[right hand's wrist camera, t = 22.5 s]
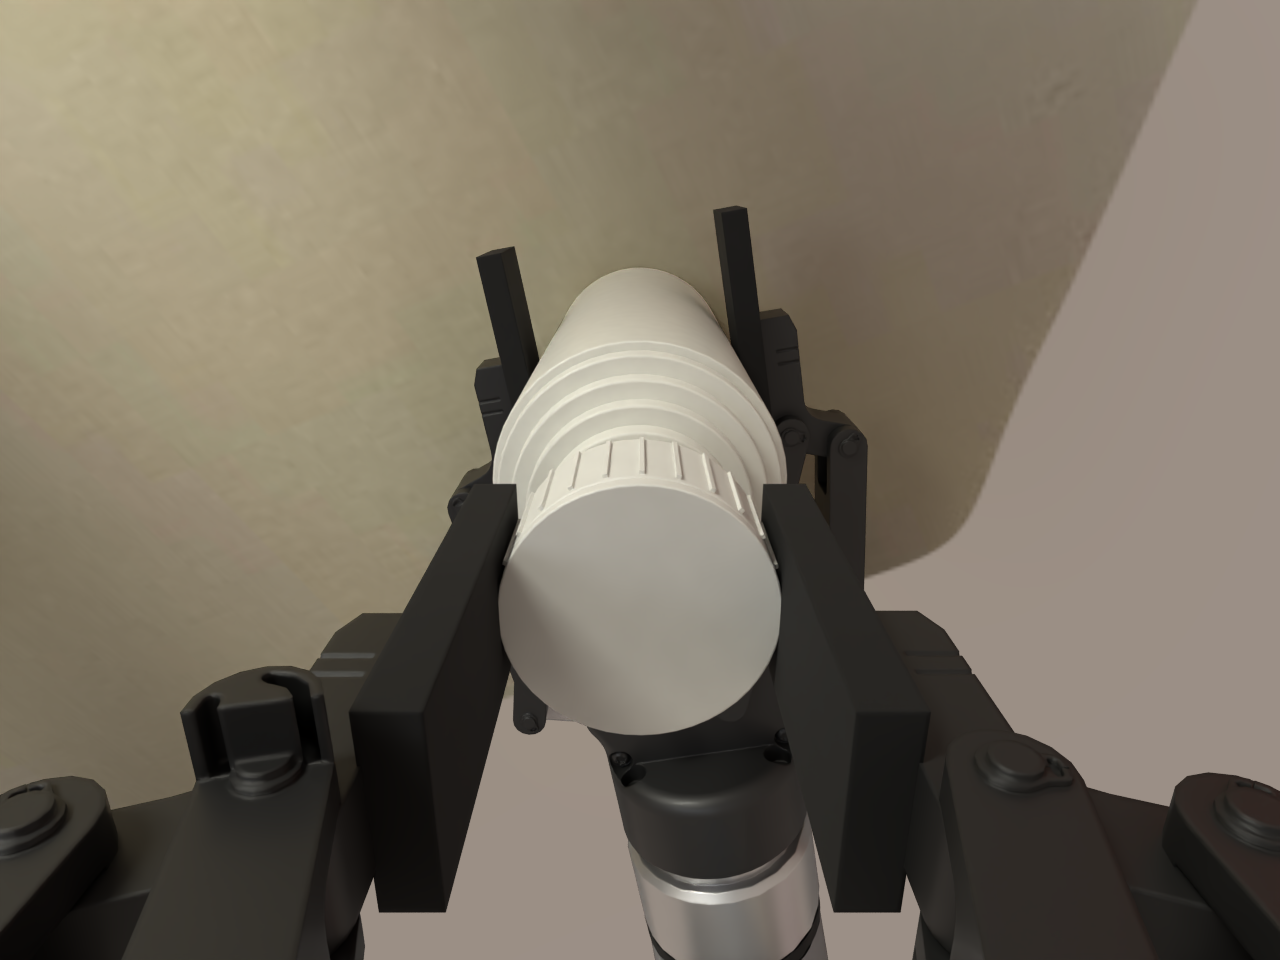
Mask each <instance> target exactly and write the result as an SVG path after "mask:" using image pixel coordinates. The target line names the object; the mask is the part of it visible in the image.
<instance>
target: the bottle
mask: <svg viewBox="0 0 1280 960" xmlns="http://www.w3.org/2000/svg"><path fill="white" fill-rule="evenodd" d="M639 437H644V439H646V440H658V441H664V442H670V443H672V441H675V442H677V445H680V446H683V447H687V448H689V449H691V450H694V451H696V452H698V453H700V454H703V453H706V454H707V455H708V458H709V459H710V460H712V461H714V462H715V463H717V464H718V465H719V466H720V467H722V468H723V469H724V470H725V471H726V472H729V471H731V472H732V473H733V475H734V479H735V481H736V482H737V483H738V484H739V485H740V487H741V488H742V489H743V491H744V492H745V494H746V495H747V496H748V495H751V497H752V499H753V502H754V505H755V508H756V511H757V513H758V516H759V519H760V522H761V512H762V494H763V484H787V469H786V458H785V453H784V449H783V445H782V440H781V437H780V435H779V432H778V430H777V427H776V425H775V422H774V420H773V418H772V417H771V415H770V413H769V411H768V410H767V408H766V406H765V404H764V402H763V401H762V399H761V397H760V395H759V394H758V392H757V390H756V388H755V387H754V385H753V383H752V381H751V379H750V378H749V376H748V374H747V372H746V371H745V369H744V367H743V365H742V364H741V362H740V360H739V358H738V357H737V355H736V353H735V351H734V349H733V348H732V346H731V344H730V342H729V341H728V339H727V337H726V335H725V334H724V332H723V330H722V328H721V327H720V325H719V323H718V321H717V319H716V318H715V316H714V314H713V312H712V311H711V309H710V307H709V305H708V304H707V302H706V301H705V300H704V298H703V297H702V296H701V295H700V294H699V293H698V292H697V291H696V290H695V289H694V288H693V287H692V286H691V285H689V284H688V283H687V282H686V281H684V280H682V279H680V278H679V277H677V276H675V275H673V274H670V273H668V272H665V271H661V270H658V269H652V268H628V269H622V270H618V271H615V272H612V273H609V274H607V275H605V276H603V277H601V278H599V279H597V280H596V281H594V282H593V283H591V284H590V285H589V286H588V287H586V288H585V289H584V290H583V291H582V292H581V293H580V294H579V295H578V297H577V298H576V299H575V301H574V302H573V303H572V305H571V306H570V308H569V310H568V311H567V313H566V315H565V317H564V319H563V320H562V322H561V324H560V326H559V327H558V329H557V331H556V333H555V334H554V336H553V338H552V340H551V342H550V343H549V345H548V347H547V349H546V350H545V352H544V354H543V356H542V357H541V359H540V361H539V363H538V364H537V366H536V368H535V370H534V372H533V373H532V375H531V377H530V379H529V380H528V382H527V384H526V386H525V387H524V389H523V391H522V393H521V395H520V396H519V398H518V400H517V402H516V403H515V405H514V407H513V409H512V411H511V412H510V414H509V416H508V418H507V420H506V422H505V424H504V426H503V429H502V432H501V434H500V437H499V440H498V443H497V448H496V453H495V458H494V465H493V484H516V486H517V503H518V519H521V518H522V515H523V512H524V510H525V507H526V504H527V501H528V498H529V495H530V494H531V492H533V493H535V492H536V491H537V489H538V488H539V486H540V485H541V484H542V483H543V482H544V481H545V479H546V478H547V477H548V474H549V471H550V470H551V469H554V470H556V469H557V468H558V467H559V466H560V465H562V464H563V463H565V462H566V461H568V460H569V459H571V458H572V457H574V456H575V453H576V452H578V451H580V453H582V452H584V451H586V450H588V449H591V448H594V447H597V446H600V445H603V444H606V441H609V440H611V442H616V441H621V440H633V439H639Z"/></svg>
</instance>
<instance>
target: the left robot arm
mask: <svg viewBox="0 0 1280 960" xmlns="http://www.w3.org/2000/svg"><path fill="white" fill-rule="evenodd" d="M713 213H714V220H715V228H716V235H717V243H718V250H719V258H720V265H721V273H722V280H723V287H724V295H725V302H726V310H727V317H728V325H729V332H730V340H731V346H732V348H733V349H734V351H735V353H736V355H737V357H738V358H739V360H740V362H741V364H742V365H743V367H744V369H745V371H746V372H747V374H748V376H749V378H750V379H751V381H752V383H753V385H754V387H755V388H756V390H757V392H758V394H759V395H760V397H761V399H762V401H763V402H764V404H765V406H766V408H767V410H768V411H769V413H770V415H771V417H772V418H773V420H774V422H775V425H776V427H777V430H778V432H779V435H780V437H781V440H782V445H783V449H784V453H785V458H786V469H787V484H799V480H800V476H801V472H802V468H803V464H804V460H805V456H806V454H811V455H815V502H816V504H817V506H818V508H819V509H820V511H821V513H822V515H823V517H824V518H825V520H826V522H827V524H828V526H829V528H830V529H831V531H832V533H833V535H834V537H835V538H836V540H837V542H838V544H839V546H840V548H841V549H842V551H843V553H844V555H845V557H846V558H847V560H848V562H849V564H850V566H851V567H852V569H853V571H854V573H855V575H856V577H857V578H858V580H859V582H860V584H861V586H862V587H863V589H864V567H865V528H866V489H867V450H868V445H867V440H866V438H865V437H864V435H863V434H862V433H861V432H860V430H859V429H858V428H857V427H856V426H855V425H854V424H853V422H852V421H851V420H850V419H849V418H848V417H847V416H846V415H845V414H844V413H843V412H841V411H839V410H828V411H822V410H817V409H812V408H809V407H807V406H805V403H804V396H803V386H802V377H801V367H800V357H799V349H798V338H797V330H796V328H795V326H794V324H793V322H792V321H791V319H790V317H789V315H788V314H787V313H786V312H784V311H783V310H782V309H775V310H769V311H763V312H759V305H758V297H757V288H756V280H755V272H754V263H753V255H752V247H751V238H750V230H749V222H748V213H747V208H744V207H740V206H732V207H726V208H721V209H715V210H713ZM476 260H477V264H478V268H479V272H480V276H481V281H482V285H483V289H484V293H485V297H486V302H487V306H488V310H489V314H490V318H491V323H492V327H493V331H494V335H495V339H496V344H497V348H498V352H499V356H500V357H499V358H493V359H488V360H484V361H483V362H482V364H481V365H480V366H479V367H478V368H477V370H476V377H475V384H474V386H475V390H476V394H477V398H478V401H479V406H480V410H481V413H482V418H483V422H484V426H485V430H486V434H487V438H488V442H489V446H490V449H491V454H492V461H491V462H489V463H488V464H486V465H484V466H482V467H481V468H478V469H472V470H470V471H468V472H467V473H466V475H465V476H464V477H463V479H462V481H461V482H460V484H459V486H458V487H457V489H456V490H455V492H454V494H453V495H452V497H451V499H450V500H449V503H448V507H447V508H448V514H449V516H450V519H451V521H452V523H453V521H454V519H455V517H456V516H457V514H458V512H459V510H460V508H461V507H462V505H463V503H464V501H465V499H466V498H467V496H468V494H469V492H470V490H471V488H472V487H473V485H474V484H493V465H494V458H495V453H496V448H497V443H498V440H499V437H500V434H501V432H502V429H503V426H504V424H505V422H506V420H507V418H508V416H509V414H510V412H511V411H512V409H513V407H514V405H515V403H516V402H517V400H518V398H519V396H520V395H521V393H522V391H523V389H524V387H525V386H526V384H527V382H528V380H529V379H530V377H531V375H532V373H533V372H534V370H535V368H536V366H537V364H538V363H539V361H540V360H539V356H538V351H537V347H536V342H535V338H534V333H533V329H532V324H531V319H530V315H529V310H528V306H527V301H526V297H525V292H524V288H523V283H522V279H521V274H520V270H519V265H518V261H517V256H516V252H515V247H514V246H513V247H508V248H502V249H497V250H492V251H490V252H487V253H485V254H483V255H481V256H478V257H476ZM510 672H511V675H512V678H513V680H514V709H513V722H514V726H515V727H516V728H517V730H518V731H520V732H522V733H524V734H529V735H530V734H536V733H538V732H540V731H541V730H542V729H543V728H544V726H545V723H546V720H561V721H573V720H571V719H569V718H567V717H565V716H563V715H562V714H560V713H558V712H557V711H555V710H554V709H552V708H551V707H549V706H548V705H547V704H545V703H544V702H543V701H542V700H541V699H539V698H538V697H537V696H536V695H535V694H534V693H533V692H532V691H531V690H530V689H529V688H528V687H527V685H526V684H525V683H524V682H523V681H522V680H521V678H520V677H519V675H518V674H517V672H516V671H515V669H514V668H513V666H512V665H511V669H510ZM587 728H588V729H589V731H590V732H591V733H592V734H593V735H594V736H595V737H596V738H597V739H598V740H599V741H600V743H601V744H602V745H603V747H604V749H605V751H606V754H607V757H608V762H609V766H610V770H611V774H612V779H613V783H614V787H615V791H616V796H617V800H618V804H619V808H620V813H621V817H622V821H623V826H624V830H625V833H626V835H627V838H628V848H629V852H630V857H631V861H632V865H633V869H634V873H635V877H636V881H637V885H638V889H639V893H640V898H641V902H642V906H643V910H644V914H645V919H646V922H647V926H648V930H649V934H650V937H651V941H652V946H653V951H654V956H655V960H828V956H827V950H826V944H825V938H824V932H823V926H822V920H821V913H820V899H819V882H818V874H817V867H816V860H815V853H814V845H813V838H812V830H811V825H810V821H809V817H808V814H807V810H806V806H805V802H804V798H803V795H802V791H801V787H800V783H799V780H798V776H797V772H796V768H795V765H794V761H793V757H792V753H791V750H790V746H789V742H788V738H787V734H786V731H785V727H784V723H783V719H782V716H781V712H780V708H779V704H778V701H777V697H776V693H775V689H774V686H773V682H772V678H771V674H770V670H769V667H768V666H767V667H766V669H765V670H764V672H763V674H762V675H761V677H760V678H759V679H758V681H757V682H756V683H755V684H754V685H753V687H752V688H751V689H750V690H749V691H748V692H747V693H746V694H745V695H744V696H743V697H742V698H741V699H739V700H738V701H737V702H736V703H735V704H733V705H732V706H730V707H729V708H728V709H726V710H725V711H723V712H722V713H720V714H718V715H716V716H715V717H713V718H711V719H709V720H707V721H704V722H702V723H700V724H697V725H695V726H692V727H689V728H685V729H682V730H678V731H674V732H668V733H663V734H653V735H624V734H618V733H611V732H606V731H602V730H598V729H594V728H591V727H588V726H587Z"/></svg>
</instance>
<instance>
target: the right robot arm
mask: <svg viewBox="0 0 1280 960" xmlns="http://www.w3.org/2000/svg"><path fill="white" fill-rule="evenodd" d="M517 521H518V503H517V486H516V484H474V485H473V487H472V488H471V490H470V492H469V494H468V496H467V498H466V499H465V501H464V503H463V505H462V507H461V508H460V510H459V512H458V514H457V516H456V517H455V519H454V521H453V523H452V525H451V527H450V528H449V530H448V532H447V534H446V536H445V537H444V539H443V541H442V543H441V545H440V547H439V548H438V550H437V552H436V554H435V556H434V557H433V559H432V561H431V563H430V565H429V566H428V568H427V570H426V572H425V574H424V576H423V577H422V579H421V581H420V583H419V585H418V586H417V588H416V590H415V592H414V594H413V595H412V597H411V599H410V601H409V603H408V605H407V606H406V608H405V610H404V612H403V613H362V614H361V615H360V616H358V617H357V618H355V619H354V620H352V621H351V622H349V623H348V624H347V625H345V626H344V627H342V628H341V629H339V630H338V631H337V632H335V634H334V635H333V637H332V638H331V640H330V641H329V643H328V644H327V646H326V647H325V649H324V650H323V651H322V653H321V658H318V659H317V660H316V662H315V663H314V665H313V666H312V668H311V669H310V671H308V670H304V669H301V668H297V667H293V666H267V667H262V668H257V669H252V670H248V671H243V672H239V673H237V674H234V675H232V676H229V677H227V678H224V679H222V680H219V681H217V682H215V683H213V684H211V685H210V686H208V687H207V688H205V689H204V690H202V691H201V692H199V693H198V694H196V695H195V696H193V698H192V699H191V700H190V701H189V702H188V704H187V705H186V706H185V707H184V708H183V710H182V711H181V712H180V714H181V719H182V723H183V727H184V731H185V735H186V739H187V743H188V748H189V752H190V756H191V760H192V764H193V768H194V772H195V777H196V783H195V786H194V788H193V790H192V791H190V792H186V793H183V794H179V795H176V796H173V797H169V798H164V799H160V800H155V801H150V802H146V803H141V804H137V805H132V806H128V807H123V808H119V809H114V810H111V809H110V805H109V802H108V799H107V795H106V792H105V790H104V789H103V788H102V787H101V786H100V785H99V784H98V783H96V782H95V781H94V780H92V779H86V778H80V777H75V776H68V777H59V778H50V779H43V780H40V781H37V782H32V783H30V784H27V785H26V784H25V785H22V786H20V787H17V788H14V789H11V790H9V791H7V792H6V793H4V794H1V795H0V960H363V959H364V950H365V944H364V936H363V929H362V923H361V916H360V911H361V908H362V906H363V903H364V900H365V898H366V895H367V893H368V890H369V887H370V885H371V882H372V880H373V877H374V883H375V890H376V896H377V903H378V909H379V912H446V909H447V906H448V902H449V898H450V894H451V891H452V887H453V883H454V879H455V875H456V872H457V868H458V864H459V860H460V856H461V853H462V849H463V845H464V842H465V838H466V834H467V830H468V827H469V823H470V819H471V815H472V812H473V808H474V804H475V800H476V797H477V793H478V789H479V785H480V781H481V778H482V774H483V770H484V766H485V763H486V759H487V755H488V751H489V747H490V744H491V740H492V736H493V733H494V728H495V725H496V721H497V718H498V714H499V710H500V706H501V702H502V699H503V695H504V691H505V687H506V684H507V680H508V676H509V672H510V669H511V665H512V664H511V662H510V660H509V658H508V656H507V654H506V652H505V649H504V646H503V643H502V640H501V633H500V621H499V605H498V593H499V586H500V582H501V579H502V575H503V572H504V569H505V566H504V565H502V563H503V560H504V557H505V554H506V552H507V549H508V546H509V543H510V541H511V538H512V535H513V532H514V530H515V527H516V524H517ZM761 522H763V525H764V528H765V530H766V533H767V536H768V539H769V541H770V544H771V547H772V550H773V552H774V555H775V558H776V561H777V563H778V569H775V570H776V573H777V576H778V579H779V582H780V587H781V596H782V597H781V613H780V627H779V639H778V643H777V646H776V649H775V651H774V653H773V656H772V658H771V660H770V662H769V664H768V667H769V670H770V674H771V678H772V682H773V686H774V689H775V693H776V697H777V701H778V704H779V708H780V712H781V716H782V719H783V723H784V727H785V731H786V734H787V738H788V742H789V746H790V750H791V753H792V757H793V761H794V765H795V768H796V772H797V776H798V780H799V783H800V787H801V791H802V795H803V798H804V802H805V806H806V810H807V814H808V817H809V821H810V825H811V829H812V832H813V836H814V840H815V844H816V847H817V851H818V855H819V859H820V862H821V866H822V870H823V874H824V877H825V881H826V885H827V889H828V893H829V896H830V900H831V904H832V908H833V911H834V912H901V906H902V899H903V893H904V886H905V880H906V874H907V877H908V880H909V882H910V885H911V887H912V890H913V893H914V895H915V898H916V900H917V903H918V905H919V908H920V917H919V923H918V929H917V935H916V941H915V947H914V953H913V959H912V960H1280V791H1278V790H1276V789H1274V788H1273V787H1271V786H1268V785H1265V784H1263V783H1260V782H1257V781H1252V780H1250V779H1247V778H1243V777H1239V776H1236V775H1226V774H1218V773H1202V774H1197V775H1191V776H1187V777H1186V778H1184V779H1183V780H1182V781H1181V782H1180V783H1179V784H1178V785H1176V786H1175V789H1174V793H1173V796H1172V800H1171V803H1170V806H1169V807H1168V806H1163V805H1159V804H1154V803H1149V802H1145V801H1141V800H1136V799H1131V798H1127V797H1122V796H1117V795H1113V794H1109V793H1105V792H1102V791H1098V790H1095V789H1091V788H1088V787H1086V784H1085V782H1084V780H1083V778H1082V777H1081V775H1080V774H1079V773H1078V771H1077V770H1076V768H1075V767H1074V765H1073V764H1072V763H1071V762H1070V761H1069V760H1067V759H1066V758H1065V757H1064V756H1062V755H1061V754H1060V753H1058V752H1057V751H1056V750H1054V749H1053V748H1052V747H1050V746H1048V745H1046V744H1043V743H1041V742H1039V741H1037V740H1035V739H1033V738H1030V737H1028V736H1026V735H1021V734H1017V733H1014V731H1013V730H1012V728H1011V727H1010V725H1009V724H1008V722H1007V721H1006V719H1005V718H1004V716H1003V715H1002V714H1001V712H1000V711H999V709H998V708H997V706H996V705H995V703H994V702H993V700H992V699H991V697H990V696H989V694H988V693H987V692H986V690H985V689H984V687H983V686H982V684H981V683H980V681H979V680H978V678H977V677H976V675H975V674H972V672H971V668H970V667H969V665H968V664H967V662H966V661H965V659H964V658H963V656H959V650H958V649H957V648H956V646H955V645H954V643H953V642H952V640H951V639H950V637H949V636H948V634H947V633H946V631H945V630H944V629H943V628H941V627H940V626H938V625H937V624H935V623H934V622H933V621H931V620H930V619H928V618H927V617H925V616H924V615H922V614H921V613H920V612H918V611H875V609H874V607H873V606H872V604H871V602H870V600H869V598H868V597H867V595H866V593H865V591H864V589H863V587H862V586H861V584H860V582H859V580H858V578H857V577H856V575H855V573H854V571H853V569H852V567H851V566H850V564H849V562H848V560H847V558H846V557H845V555H844V553H843V551H842V549H841V548H840V546H839V544H838V542H837V540H836V538H835V537H834V535H833V533H832V531H831V529H830V528H829V526H828V524H827V522H826V520H825V518H824V517H823V515H822V513H821V511H820V509H819V508H818V506H817V504H816V502H815V500H814V499H813V497H812V495H811V493H810V491H809V489H808V488H807V486H806V484H763V494H762V512H761Z"/></svg>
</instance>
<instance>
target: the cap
mask: <svg viewBox="0 0 1280 960" xmlns="http://www.w3.org/2000/svg"><path fill="white" fill-rule="evenodd" d="M502 565H504V566H505V569H504V572H503V575H502V579H501V582H500V586H499V593H498V605H499V621H500V633H501V640H502V643H503V646H504V649H505V652H506V654H507V656H508V658H509V660H510V662H511V664H512V666H513V668H514V669H515V671H516V672H517V674H518V675H519V677H520V678H521V680H522V681H523V682H524V683H525V684H526V685H527V687H528V688H529V689H530V690H531V691H532V692H533V693H534V694H535V695H536V696H537V697H538V698H539V699H541V700H542V701H543V702H544V703H545V704H547V705H548V706H549V707H551V708H552V709H554V710H555V711H557V712H558V713H560V714H562V715H563V716H565V717H567V718H569V719H571V720H573V721H575V722H578V723H580V724H583V725H585V726H588V727H591V728H594V729H598V730H602V731H606V732H611V733H618V734H624V735H653V734H663V733H668V732H674V731H678V730H682V729H685V728H689V727H692V726H695V725H697V724H700V723H702V722H704V721H707V720H709V719H711V718H713V717H715V716H716V715H718V714H720V713H722V712H723V711H725V710H726V709H728V708H729V707H730V706H732V705H733V704H735V703H736V702H737V701H738V700H739V699H741V698H742V697H743V696H744V695H745V694H746V693H747V692H748V691H749V690H750V689H751V688H752V687H753V685H754V684H755V683H756V682H757V681H758V679H759V678H760V677H761V675H762V674H763V672H764V670H765V669H766V667H767V666H768V664H769V662H770V660H771V658H772V656H773V653H774V651H775V649H776V646H777V643H778V639H779V627H780V613H781V597H782V596H781V587H780V582H779V579H778V576H777V573H776V570H775V569H778V563H777V561H776V558H775V555H774V552H773V550H772V547H771V544H770V541H769V539H768V536H767V533H766V530H765V528H764V525H763V522H760V519H759V516H758V513H757V511H756V508H755V505H754V502H753V499H752V497H751V495H748V496H747V495H746V494H745V492H744V491H743V489H742V488H741V487H740V485H739V484H738V483H737V482H736V481H735V479H734V475H733V473H732V472H731V471H729V472H726V471H725V470H724V469H723V468H722V467H720V466H719V465H718V464H717V463H715V462H714V461H712V460H710V459H709V458H708V455H707V454H706V453H703V454H700V453H698V452H696V451H694V450H691V449H689V448H687V447H683V446H680V445H677V442H675V441H672V443H670V442H664V441H658V440H646V439H644V437H639V439H633V440H621V441H616V442H611V440H609V441H606V444H603V445H600V446H597V447H594V448H591V449H588V450H586V451H584V452H582V453H580V451H578V452H576V453H575V456H574V457H572V458H571V459H569V460H568V461H566V462H565V463H563V464H562V465H560V466H559V467H558V468H557V469H556V470H554V469H551V470H550V471H549V474H548V477H547V478H546V479H545V481H544V482H543V483H542V484H541V485H540V486H539V488H538V489H537V491H536V492H535V493H533V492H531V494H530V495H529V498H528V501H527V504H526V507H525V510H524V512H523V515H522V518H521V519H518V521H517V524H516V527H515V530H514V532H513V535H512V538H511V541H510V543H509V546H508V549H507V552H506V554H505V557H504V560H503V563H502Z"/></svg>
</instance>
